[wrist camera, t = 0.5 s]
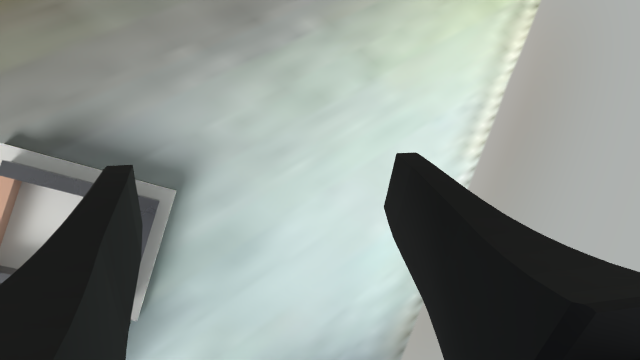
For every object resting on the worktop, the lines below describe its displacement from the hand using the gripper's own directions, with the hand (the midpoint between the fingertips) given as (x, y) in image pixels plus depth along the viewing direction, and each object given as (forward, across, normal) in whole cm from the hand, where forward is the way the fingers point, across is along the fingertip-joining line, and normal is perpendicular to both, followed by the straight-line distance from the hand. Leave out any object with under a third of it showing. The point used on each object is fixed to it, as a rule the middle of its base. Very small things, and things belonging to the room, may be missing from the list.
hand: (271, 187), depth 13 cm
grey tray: (+18, +11, +18) cm, 27 cm away
